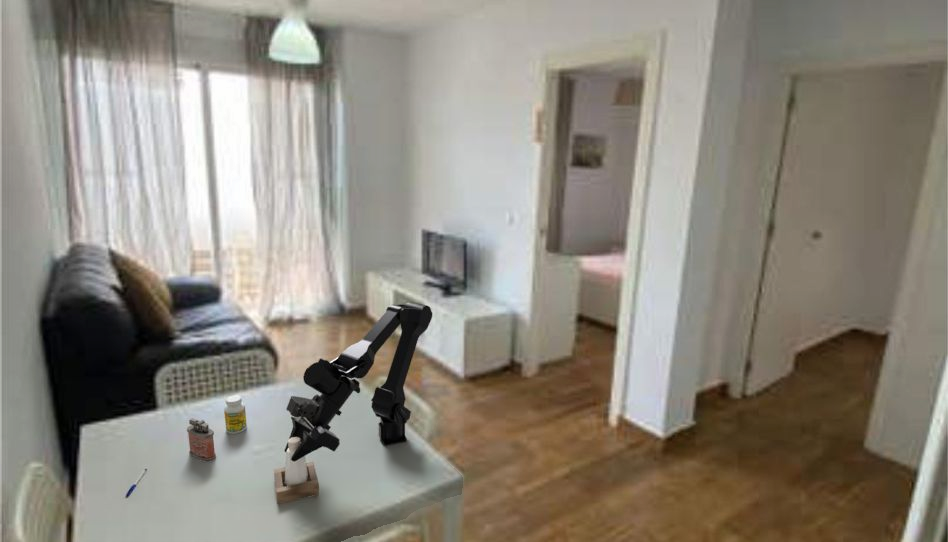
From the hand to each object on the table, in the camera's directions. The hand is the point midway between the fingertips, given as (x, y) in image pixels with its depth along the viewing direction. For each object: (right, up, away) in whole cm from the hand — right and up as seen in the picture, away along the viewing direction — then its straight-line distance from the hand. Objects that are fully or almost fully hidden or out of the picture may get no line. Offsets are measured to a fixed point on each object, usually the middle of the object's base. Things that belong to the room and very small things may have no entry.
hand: (289, 456), depth 123 cm
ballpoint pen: (-37, -8, +3) cm, 38 cm away
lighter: (-27, -5, +14) cm, 31 cm away
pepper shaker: (+1, -7, +3) cm, 7 cm away
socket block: (+1, -8, +3) cm, 9 cm away
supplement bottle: (-24, -2, +27) cm, 36 cm away
